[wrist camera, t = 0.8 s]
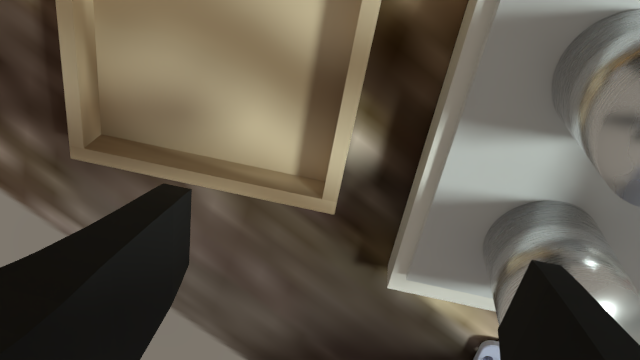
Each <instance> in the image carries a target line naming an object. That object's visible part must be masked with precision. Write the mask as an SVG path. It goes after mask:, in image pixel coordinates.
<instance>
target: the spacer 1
mask: <svg viewBox="0 0 640 360" xmlns="http://www.w3.org/2000/svg"><path fill="white" fill-rule="evenodd" d="M551 93H552V101H553V105H554V108H555V110H556V113H557V114H558V116H559V118H560V119H561V121H562V122H563V123H564V125H565V126H566V128H567V129H568V130H569V132H570V133H571V135H572V136H573V137H574V139H575V140H576V142H577V143H578V144H579V146H580V147H581V149H582V150H583V151H584V153H585V154H586V156H587V157H588V158H589V160H590V161H591V163H592V164H593V165H594V167H595V168H596V170H597V171H598V172H599V174H600V175H601V177H602V178H603V179H604V181H605V182H606V184H607V185H608V186H609V187H610V188H611V190H612V191H613V192H614V193H615V194H617V195H618V196H619V197H620V198H621V199H623V200H625V201H626V202H628V203H630V204H632V205H635V206H637V207H639V208H640V9H635V10H627V11H623V12H619V13H616V14H613V15H610V16H608V17H605V18H603V19H601V20H599V21H597V22H596V23H594V24H593V25H591V26H589V27H588V28H587V29H585V30H584V31H583V32H582V33H580V34H579V35H578V36H577V37H576V38H575V39H574V40H573V41H572V42H571V43H570V45H569V46H568V47H567V48H566V50H565V51H564V53H563V54H562V56H561V57H560V59H559V62H558V64H557V66H556V68H555V71H554V74H553V79H552V87H551Z"/></svg>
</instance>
